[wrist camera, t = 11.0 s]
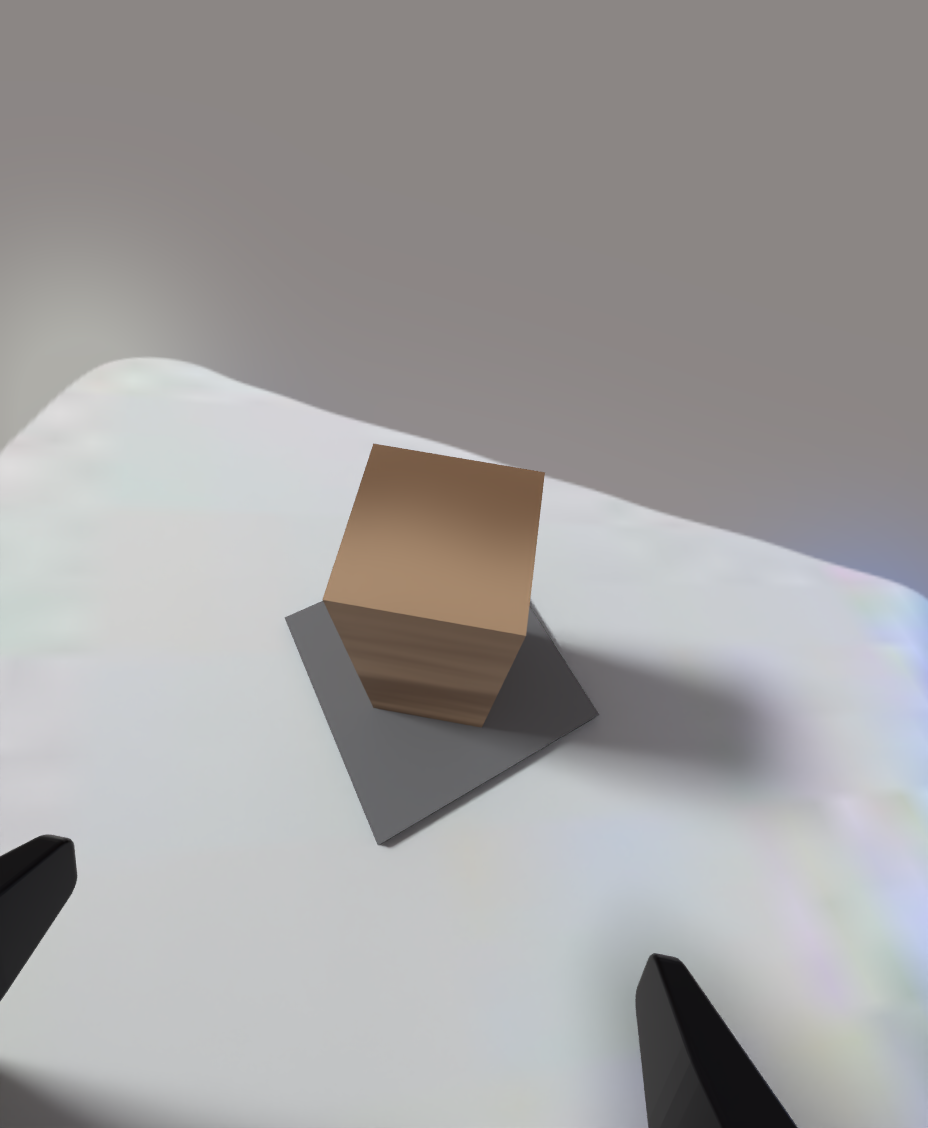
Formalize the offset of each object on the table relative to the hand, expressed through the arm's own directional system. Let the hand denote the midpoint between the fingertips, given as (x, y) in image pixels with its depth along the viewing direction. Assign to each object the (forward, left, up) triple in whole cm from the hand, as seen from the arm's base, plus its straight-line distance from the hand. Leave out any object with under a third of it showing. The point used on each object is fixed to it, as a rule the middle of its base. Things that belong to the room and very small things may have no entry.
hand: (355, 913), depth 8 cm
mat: (+5, +6, -12) cm, 14 cm away
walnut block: (+5, +6, -12) cm, 14 cm away
